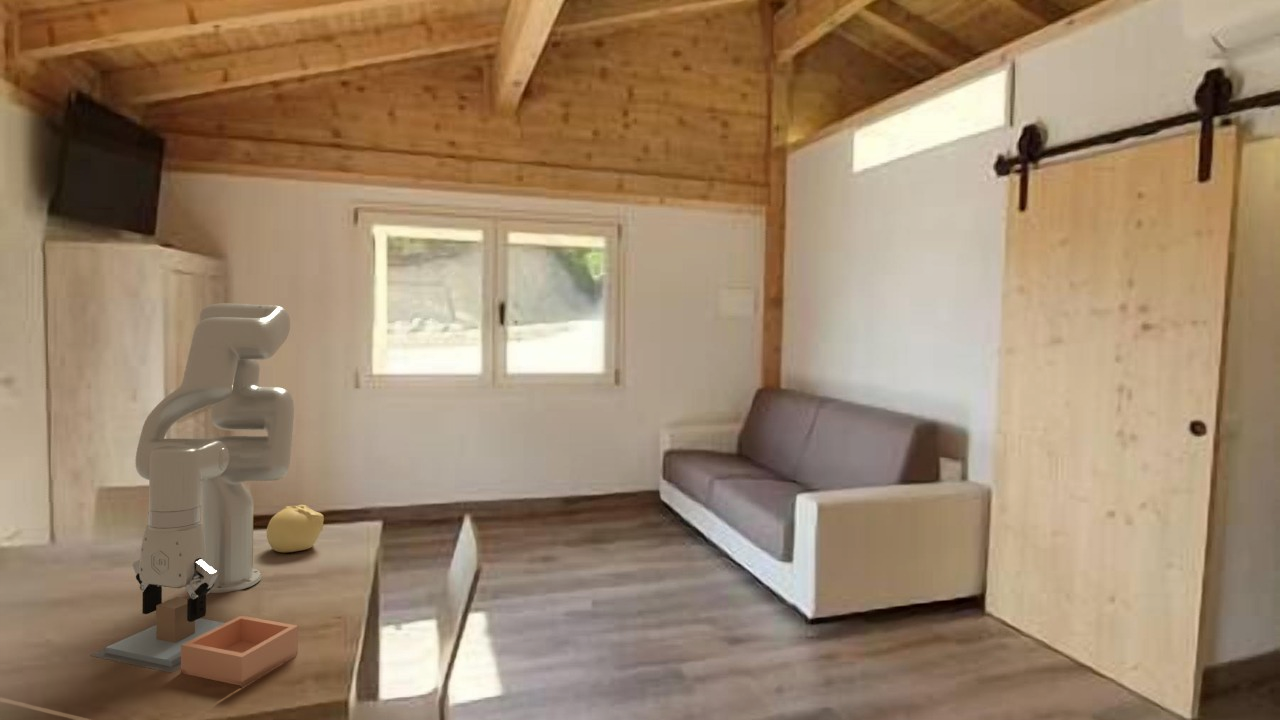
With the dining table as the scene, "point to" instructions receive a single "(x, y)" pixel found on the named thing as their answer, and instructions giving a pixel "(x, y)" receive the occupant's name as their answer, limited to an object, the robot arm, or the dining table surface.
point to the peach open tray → (240, 650)
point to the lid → (164, 635)
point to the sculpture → (294, 528)
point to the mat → (136, 662)
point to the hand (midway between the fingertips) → (174, 615)
